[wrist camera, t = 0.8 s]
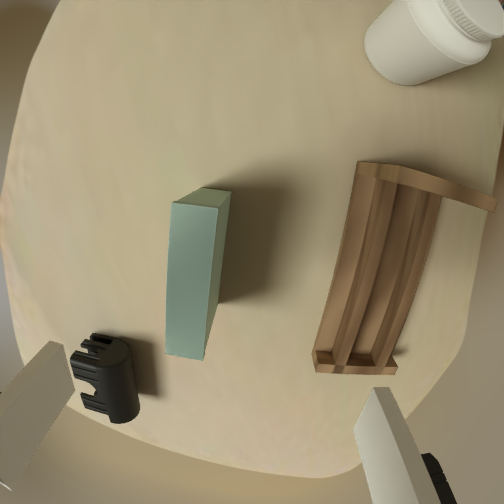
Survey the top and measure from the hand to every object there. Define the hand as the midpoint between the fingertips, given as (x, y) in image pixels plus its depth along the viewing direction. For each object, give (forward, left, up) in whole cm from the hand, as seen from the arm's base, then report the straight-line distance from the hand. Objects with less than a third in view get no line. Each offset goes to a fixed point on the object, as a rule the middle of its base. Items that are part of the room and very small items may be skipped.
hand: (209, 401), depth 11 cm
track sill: (+1, +15, -21) cm, 25 cm away
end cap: (+18, -14, -21) cm, 31 cm away
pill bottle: (-24, +13, -21) cm, 34 cm away
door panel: (0, -3, -21) cm, 21 cm away
